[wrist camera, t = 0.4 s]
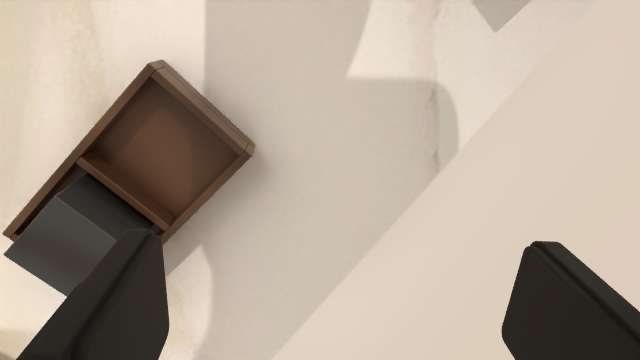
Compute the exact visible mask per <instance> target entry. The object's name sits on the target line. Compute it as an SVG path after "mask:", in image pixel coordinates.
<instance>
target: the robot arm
mask: <svg viewBox="0 0 640 360" xmlns="http://www.w3.org/2000/svg"><path fill="white" fill-rule="evenodd" d="M168 332H169V314H168V304H167V293H166V282H165V271H164V260H163V249H162V240H161V237H160V236H159V235H154V233H153V231H152V230H151V229H126V230H125V231H124V232H123V234H122V235H121V236H120V237H119V239H118V240H117V241H116V242H115V244H114V245H113V246H112V247H111V248H110V250H109V251H108V252H107V253H106V255H105V256H104V257H103V258H102V260H101V261H100V262H99V263H98V265H97V266H96V267H95V268H94V270H93V271H92V272H91V273H90V275H89V276H88V277H87V278H86V279H85V281H84V282H81V283H79V284H78V285H77V286H76V287H75V288H74V290H73V291H72V292H71V293H70V294H69V296H68V297H67V298H66V299H65V301H64V302H63V303H62V304H61V305H60V307H59V308H58V309H57V310H56V312H55V313H54V314H53V315H52V316H51V318H50V319H49V320H48V321H47V322H46V324H45V325H44V326H43V327H42V329H41V330H40V331H39V332H38V333H37V335H36V336H35V337H34V338H33V340H32V341H31V342H30V343H29V344H28V346H27V347H26V348H25V349H24V351H23V352H22V353H21V354H20V355H19V357H18V358H17V359H16V360H158V359H159V356H160V354H161V351H162V349H163V346H164V344H165V342H166V339H167V336H168ZM502 338H503V341H504V342H505V344H506V346H507V347H508V349H509V351H510V352H511V354H512V355H513V357H514V358H515V360H640V312H639V311H638V310H637V309H636V308H635V307H633V306H632V305H631V304H630V303H629V302H628V301H627V300H625V299H624V298H623V297H622V296H621V295H619V294H618V293H617V292H616V291H615V290H613V288H611V287H610V286H609V285H608V284H607V283H606V282H605V281H603V280H602V279H601V278H600V277H599V276H597V274H595V273H594V272H593V271H592V270H591V269H590V268H588V267H587V266H586V265H585V264H584V263H582V262H581V261H580V260H579V259H578V258H577V257H576V256H575V255H573V254H572V253H571V252H570V251H569V250H568V249H566V248H565V247H564V246H563V245H562V244H560V243H558V242H545V241H544V242H543V241H535V242H533V243H532V244H531V245H530V246H528V247H526V248H525V250H524V252H523V256H522V259H521V262H520V266H519V269H518V273H517V277H516V280H515V283H514V287H513V290H512V294H511V297H510V301H509V304H508V308H507V311H506V315H505V318H504V322H503V325H502Z"/></svg>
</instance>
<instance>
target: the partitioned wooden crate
mask: <svg viewBox="0 0 640 360" xmlns="http://www.w3.org/2000/svg"><path fill="white" fill-rule="evenodd" d="M254 147H255V144H254V143H253V142H252V141H251V140H250V139H249V138H248V137H247V136H246V135H245V134H244V133H242V132H241V131H240V130H239V129H238V128H237V127H236V126H235V125H234V124H233V123H231V122H230V121H229V120H228V119H227V118H226V117H225V116H224V115H223V114H222V113H221V112H219V111H218V110H217V109H216V108H215V107H214V106H213V105H212V104H211V103H210V102H209V101H207V100H206V99H205V98H204V97H203V96H202V95H201V94H200V93H199V92H198V91H197V90H195V89H194V88H193V87H192V86H191V85H190V84H189V83H188V82H187V81H186V80H185V79H183V78H182V77H181V76H180V75H179V74H178V73H177V72H176V71H175V70H174V69H173V68H171V67H170V66H169V65H168V64H167V63H166V62H165V61H164V60H159V61H155V62H151V63H148V64H147V65H146V66H145V67H144V69H143V70H142V71H141V72H140V73H139V74H138V76H137V77H136V78H135V79H134V80H133V81H132V83H131V84H130V85H129V86H128V87H127V88H126V90H125V91H124V92H123V93H122V94H121V95H120V97H119V98H118V99H117V100H116V101H115V102H114V104H113V105H112V106H111V107H110V108H109V109H108V111H107V112H106V113H105V114H104V115H103V116H102V118H101V119H100V120H99V121H98V122H97V123H96V125H95V126H94V127H93V128H92V129H91V130H90V132H89V133H88V134H87V135H86V136H85V137H84V139H83V140H82V141H81V142H80V143H79V144H78V146H77V147H76V148H75V149H74V150H73V151H72V153H71V154H70V155H69V156H68V157H67V158H66V160H65V161H64V162H63V163H62V164H61V165H60V167H59V168H58V169H57V170H56V171H55V172H54V174H53V175H52V176H51V177H50V178H49V179H48V181H47V182H46V183H45V184H44V185H43V186H42V188H41V189H40V190H39V191H38V192H37V193H36V195H35V196H34V197H33V198H32V199H31V200H30V202H29V203H28V204H27V205H26V206H25V207H24V209H23V210H22V211H21V212H20V213H19V214H18V215H17V217H16V218H15V219H14V220H13V221H12V222H11V224H10V225H9V226H8V227H7V228H6V229H5V231H4V232H3V233H2V234H3V235H5V236H6V237H8V238H10V240H12V241H13V242H14V243H13V244H12V245H11V246H10V248H9V249H8V250H7V251H6V252H5V253H4V256H6V257H7V258H9V259H10V260H12V261H13V262H15V263H16V264H18V265H19V266H21V267H22V268H24V269H25V270H27V271H29V272H30V273H32V274H33V275H35V276H36V277H38V278H39V279H41V280H42V281H44V282H45V283H47V284H48V285H50V286H51V287H53V288H54V289H56V290H58V291H59V292H61V293H62V294H64V295H65V296H67V297H68V296H69V294H70V293H71V292H72V291H73V290H74V288H75V287H76V286H77V285H78V284H79V283H81V282H84V281H85V279H86V278H87V277H88V276H89V275H90V273H91V272H92V271H93V270H94V268H95V267H96V266H97V265H98V263H99V262H100V261H101V260H102V258H103V257H104V256H105V255H106V253H107V252H108V251H109V250H110V248H111V247H112V246H113V245H114V244H115V242H116V241H117V240H118V239H119V237H120V236H121V235H122V234H123V232H124V231H125V230H126V229H151V230H152V231H153V233H154V235H159V236H160V237H161V240H162V245H163V244H164V243H165V242H166V241H167V240H168V239H169V238H170V237H171V236H172V235H173V234H174V233H175V232H176V231H177V230H178V229H179V228H180V227H181V226H182V225H183V224H184V223H185V222H186V221H187V220H188V219H189V218H190V217H191V216H192V215H193V214H194V213H195V212H196V211H197V210H198V209H199V208H200V207H201V206H202V205H203V204H204V203H205V202H206V201H207V200H208V199H209V198H210V197H211V196H212V195H213V194H214V193H215V192H216V191H217V190H218V189H219V188H220V187H221V186H222V185H223V184H224V183H225V182H226V181H227V180H228V179H229V178H230V177H231V176H232V175H233V174H234V173H235V172H236V171H237V170H238V169H239V168H240V167H241V166H242V165H243V164H244V163H245V162H246V161H247V160H248V159H249V158H250V157H251V156H252V153H253V150H254Z"/></svg>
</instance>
